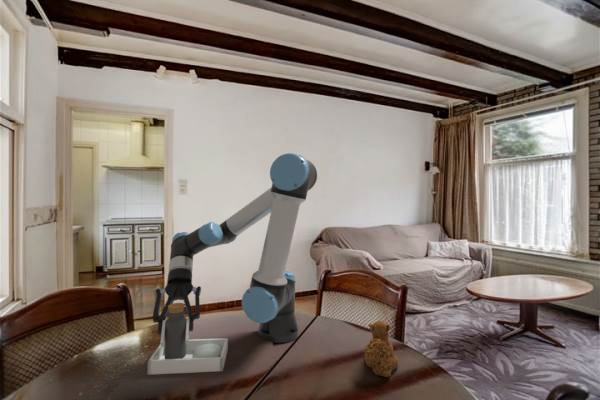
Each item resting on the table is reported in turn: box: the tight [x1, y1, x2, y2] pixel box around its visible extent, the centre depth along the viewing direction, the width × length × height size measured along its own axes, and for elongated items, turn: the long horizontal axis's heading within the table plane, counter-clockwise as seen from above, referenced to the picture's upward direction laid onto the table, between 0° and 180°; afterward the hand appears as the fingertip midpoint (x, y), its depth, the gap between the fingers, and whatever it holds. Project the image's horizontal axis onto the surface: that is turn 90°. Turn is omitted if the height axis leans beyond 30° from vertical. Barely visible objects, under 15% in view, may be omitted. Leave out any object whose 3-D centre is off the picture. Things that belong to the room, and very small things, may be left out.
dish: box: [192, 344, 221, 358], centre depth 92 cm, size 8×8×3 cm
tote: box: [146, 337, 229, 376], centre depth 91 cm, size 20×13×4 cm, turn 97°
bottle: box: [165, 302, 187, 359], centre depth 91 cm, size 6×6×15 cm
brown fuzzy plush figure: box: [363, 320, 400, 378], centre depth 91 cm, size 10×14×13 cm
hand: (174, 343), depth 87 cm, fingers closed on bottle, 6 cm apart
